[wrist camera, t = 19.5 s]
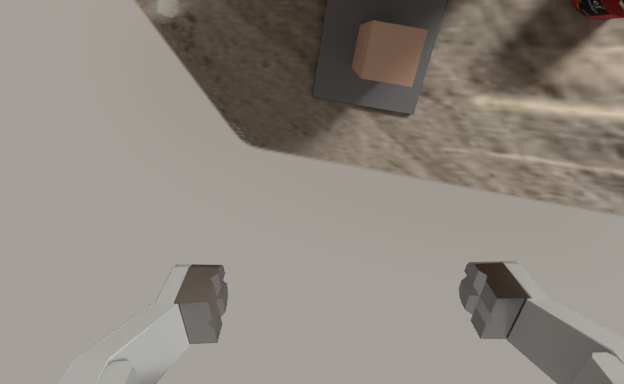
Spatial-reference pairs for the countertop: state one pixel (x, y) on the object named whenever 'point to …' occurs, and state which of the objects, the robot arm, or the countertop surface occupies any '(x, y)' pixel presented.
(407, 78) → the block
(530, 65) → the countertop surface
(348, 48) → the mat
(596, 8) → the canned food
